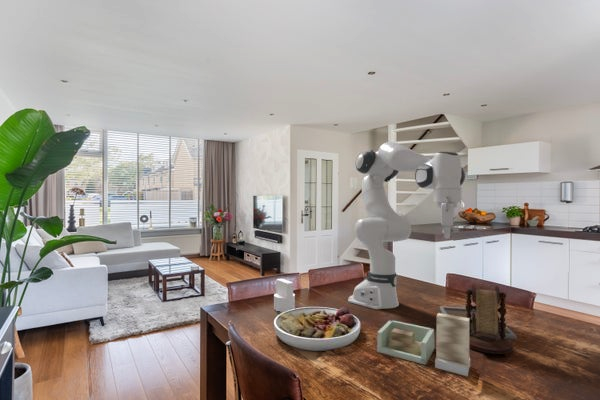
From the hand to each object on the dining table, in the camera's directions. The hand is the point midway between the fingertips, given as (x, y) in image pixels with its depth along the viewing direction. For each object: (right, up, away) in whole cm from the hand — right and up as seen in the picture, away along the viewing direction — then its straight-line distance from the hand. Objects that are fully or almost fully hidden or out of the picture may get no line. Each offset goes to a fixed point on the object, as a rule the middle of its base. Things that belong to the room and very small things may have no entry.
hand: (447, 237), depth 113 cm
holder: (-9, -34, -24) cm, 43 cm away
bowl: (-46, -35, 0) cm, 57 cm away
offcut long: (-19, -33, -14) cm, 41 cm away
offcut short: (-20, -30, -14) cm, 39 cm away
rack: (-19, -34, -14) cm, 41 cm away
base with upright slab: (-58, -34, +26) cm, 72 cm away
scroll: (+8, -34, -10) cm, 37 cm away
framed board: (+16, -35, +13) cm, 41 cm away
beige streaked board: (-9, -33, -24) cm, 42 cm away
